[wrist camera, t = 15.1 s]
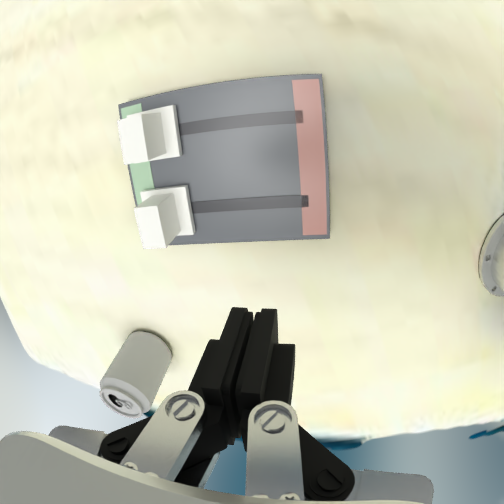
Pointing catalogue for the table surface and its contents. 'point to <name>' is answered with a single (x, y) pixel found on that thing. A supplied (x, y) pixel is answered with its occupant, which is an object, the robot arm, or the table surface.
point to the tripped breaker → (150, 135)
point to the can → (135, 374)
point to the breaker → (164, 216)
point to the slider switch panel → (246, 158)
